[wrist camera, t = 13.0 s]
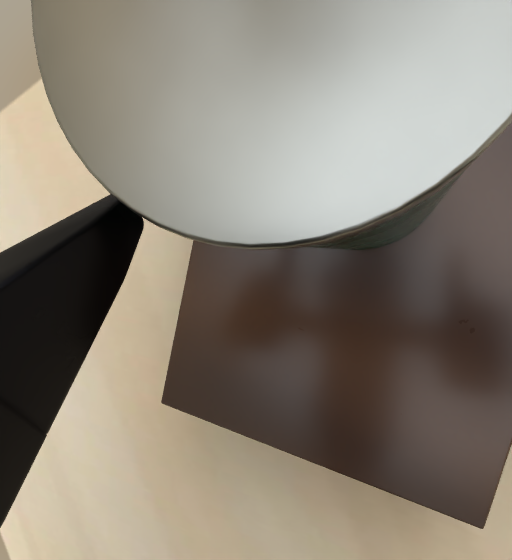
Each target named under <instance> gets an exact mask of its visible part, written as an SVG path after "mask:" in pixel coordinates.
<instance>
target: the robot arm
mask: <svg viewBox="0 0 512 560" xmlns="http://www.w3.org/2000/svg"><path fill="white" fill-rule="evenodd" d="M143 226H144V222H143V218H142V217H141V216H139V215H138V214H136V213H134V212H133V211H132V210H130V209H129V208H128V207H127V206H125V205H124V204H123V203H122V202H120V201H119V200H118V199H117V198H115V197H114V196H113V195H111V194H110V195H108V196H107V197H105V198H103V199H101V200H99V201H97V202H95V203H93V204H91V205H90V206H88V207H86V208H84V209H82V210H80V211H78V212H76V213H74V214H73V215H71V216H69V217H67V218H65V219H63V220H61V221H59V222H57V223H56V224H54V225H52V226H50V227H48V228H46V229H44V230H42V231H40V232H39V233H37V234H35V235H33V236H31V237H29V238H27V239H25V240H23V241H22V242H20V243H18V244H16V245H14V246H12V247H10V248H8V249H6V250H4V251H3V252H1V253H0V527H1V526H2V524H3V522H4V520H5V518H6V516H7V514H8V512H9V510H10V508H11V506H12V504H13V502H14V500H15V498H16V496H17V494H18V492H19V490H20V488H21V486H22V484H23V482H24V480H25V478H26V476H27V474H28V472H29V470H30V468H31V466H32V464H33V462H34V460H35V458H36V456H37V454H38V452H39V450H40V448H41V446H42V444H43V442H44V440H45V438H46V436H47V433H48V432H49V430H50V428H51V426H52V424H53V422H54V420H55V418H56V416H57V414H58V412H59V410H60V408H61V406H62V404H63V402H64V400H65V398H66V396H67V394H68V392H69V390H70V388H71V386H72V384H73V382H74V380H75V378H76V376H77V374H78V372H79V370H80V368H81V366H82V364H83V362H84V360H85V358H86V356H87V353H88V351H89V349H90V347H91V345H92V343H93V341H94V339H95V337H96V335H97V333H98V331H99V329H100V327H101V325H102V323H103V321H104V319H105V317H106V315H107V313H108V311H109V309H110V307H111V305H112V303H113V301H114V299H115V297H116V295H117V293H118V291H119V289H120V287H121V285H122V283H123V281H124V279H125V276H126V274H127V271H128V269H129V266H130V263H131V260H132V258H133V255H134V252H135V250H136V247H137V244H138V242H139V239H140V236H141V234H142V231H143Z"/></svg>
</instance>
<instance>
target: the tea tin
mask: <svg viewBox="0 0 512 560" xmlns="http://www.w3.org/2000/svg"><path fill="white" fill-rule="evenodd" d="M31 6H32V22H33V36H34V42H35V48H36V54H37V59H38V65H39V69H40V72H41V76H42V80H43V83H44V87H45V91H46V94H47V97H48V99H49V102H50V104H51V107H52V109H53V112H54V114H55V116H56V119H57V121H58V123H59V125H60V127H61V129H62V131H63V132H64V134H65V136H66V138H67V140H68V141H69V143H70V145H71V147H72V148H73V150H74V151H75V153H76V154H77V155H78V157H79V158H80V159H81V161H82V162H83V164H84V165H85V166H86V168H87V169H88V170H89V172H90V173H91V174H92V175H93V176H94V177H95V178H96V179H97V180H98V181H99V182H100V183H101V184H102V185H103V186H104V187H105V188H106V189H107V191H108V192H109V193H110V194H111V195H113V196H114V197H115V198H117V199H118V200H119V201H120V202H122V203H123V204H124V205H125V206H127V207H128V208H129V209H130V210H132V211H133V212H134V213H136V214H138V215H139V216H141V217H143V218H145V219H146V220H148V221H150V222H151V223H153V224H155V225H157V226H158V227H160V228H163V229H165V230H168V231H170V232H173V233H175V234H178V235H180V236H182V237H185V238H187V239H191V240H195V241H199V242H203V243H208V244H212V245H216V246H222V247H231V248H241V249H251V250H267V249H293V248H300V247H306V248H327V249H348V250H369V249H375V248H380V247H383V246H387V245H390V244H392V243H394V242H396V241H399V240H401V239H402V238H404V237H406V236H407V235H409V234H410V233H411V232H413V231H414V230H415V229H417V228H418V227H419V226H420V225H421V224H422V223H423V222H424V221H425V220H426V219H427V217H428V216H429V215H430V214H431V212H432V211H433V210H434V209H435V207H436V206H437V205H438V204H439V202H440V201H441V200H442V199H443V197H444V196H445V195H446V194H447V192H448V191H449V190H450V189H451V187H452V186H453V185H454V184H455V183H456V181H457V180H458V179H459V178H460V176H461V175H462V174H463V173H464V171H465V170H466V169H467V168H468V167H469V166H470V165H471V164H472V163H473V162H474V161H475V160H476V159H477V158H478V157H479V156H480V155H481V154H482V153H483V152H484V151H485V150H486V149H487V148H488V147H489V146H490V145H491V144H492V143H493V142H494V141H495V140H496V139H497V138H498V137H499V136H500V135H501V134H502V133H503V131H504V130H505V129H506V128H507V127H508V126H509V124H510V123H511V122H512V0H31Z"/></svg>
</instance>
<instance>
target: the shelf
mask: <svg viewBox="0 0 512 560" xmlns="http://www.w3.org/2000/svg"><path fill="white" fill-rule="evenodd" d="M161 402H162V404H165V405H167V406H170V407H172V408H175V409H178V410H180V411H183V412H185V413H188V414H190V415H193V416H195V417H198V418H200V419H203V420H206V421H208V422H211V423H213V424H216V425H218V426H221V427H223V428H226V429H229V430H231V431H234V432H236V433H239V434H241V435H244V436H246V437H249V438H251V439H254V440H257V441H259V442H262V443H264V444H267V445H269V446H272V447H274V448H277V449H279V450H282V451H285V452H287V453H290V454H292V455H295V456H297V457H300V458H302V459H305V460H307V461H310V462H313V463H315V464H318V465H320V466H323V467H325V468H328V469H330V470H333V471H335V472H338V473H341V474H343V475H346V476H348V477H351V478H353V479H356V480H358V481H361V482H363V483H366V484H369V485H371V486H374V487H376V488H379V489H381V490H384V491H386V492H389V493H391V494H394V495H397V496H399V497H402V498H404V499H407V500H409V501H412V502H414V503H417V504H420V505H422V506H425V507H427V508H430V509H432V510H435V511H437V512H440V513H442V514H445V515H448V516H450V517H453V518H455V519H458V520H460V521H463V522H465V523H468V524H470V525H473V526H476V527H478V528H481V529H483V528H484V526H485V523H486V520H487V517H488V514H489V511H490V508H491V505H492V502H493V499H494V496H495V493H496V490H497V487H498V484H499V481H500V478H501V474H502V471H503V468H504V465H505V462H506V459H507V456H508V453H509V450H510V447H511V444H512V122H511V123H510V124H509V126H508V127H507V128H506V129H505V130H504V131H503V133H502V134H501V135H500V136H499V137H498V138H497V139H496V140H495V141H494V142H493V143H492V144H491V145H490V146H489V147H488V148H487V149H486V150H485V151H484V152H483V153H482V154H481V155H480V156H479V157H478V158H477V159H476V160H475V161H474V162H473V163H472V164H471V165H470V166H469V167H468V168H467V169H466V170H465V171H464V173H463V174H462V175H461V176H460V178H459V179H458V180H457V181H456V183H455V184H454V185H453V186H452V187H451V189H450V190H449V191H448V192H447V194H446V195H445V196H444V197H443V199H442V200H441V201H440V202H439V204H438V205H437V206H436V207H435V209H434V210H433V211H432V212H431V214H430V215H429V216H428V217H427V219H426V220H425V221H424V222H423V223H422V224H421V225H420V226H419V227H418V228H417V229H415V230H414V231H413V232H411V233H410V234H409V235H407V236H406V237H404V238H402V239H401V240H399V241H396V242H394V243H392V244H390V245H387V246H383V247H380V248H375V249H369V250H348V249H327V248H306V247H300V248H293V249H267V250H251V249H241V248H231V247H222V246H216V245H212V244H208V243H203V242H199V241H195V240H194V241H193V246H192V251H191V256H190V261H189V266H188V271H187V276H186V281H185V286H184V291H183V296H182V301H181V306H180V311H179V316H178V321H177V326H176V331H175V336H174V341H173V346H172V351H171V356H170V361H169V366H168V371H167V376H166V381H165V386H164V391H163V396H162V401H161Z"/></svg>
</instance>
